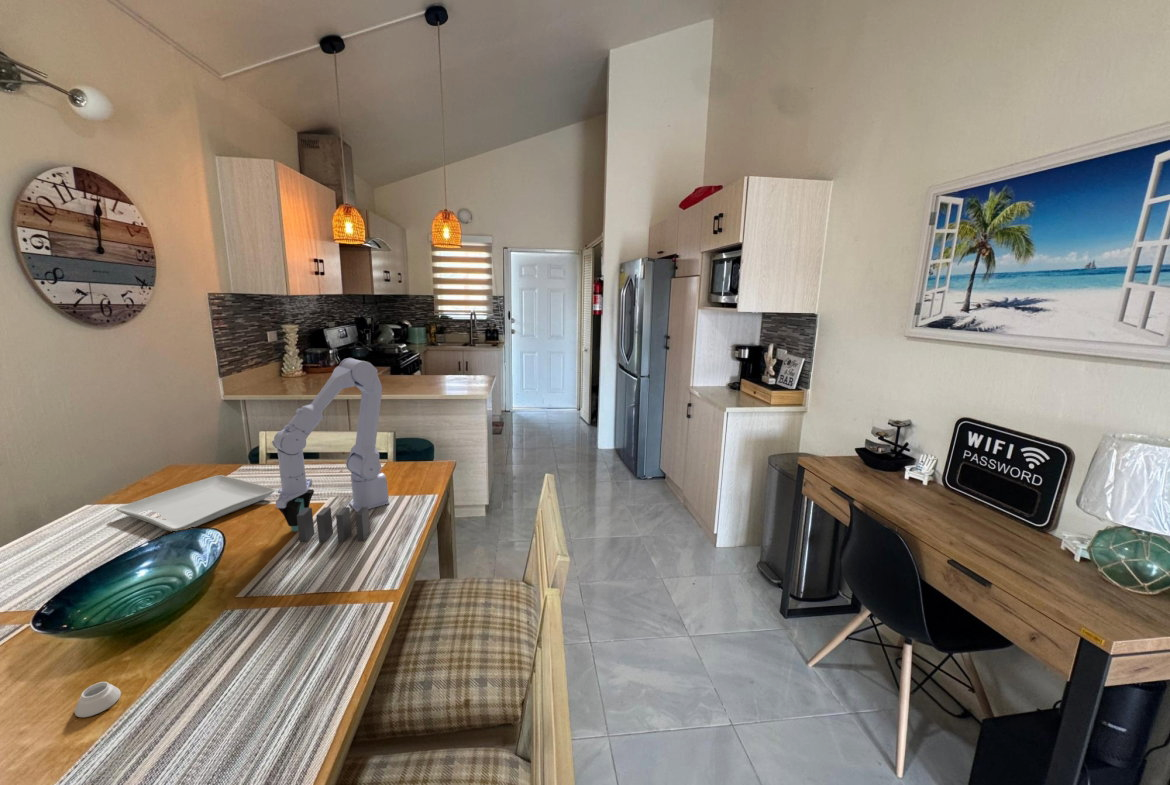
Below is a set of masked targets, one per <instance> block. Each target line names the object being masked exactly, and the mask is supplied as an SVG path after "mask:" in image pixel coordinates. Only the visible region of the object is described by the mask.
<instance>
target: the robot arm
mask: <svg viewBox="0 0 1170 785" xmlns="http://www.w3.org/2000/svg"><path fill="white" fill-rule="evenodd" d="M378 371H379V370H378V369H377V368H376V366H374V365H373V364H372V363H371V362H370V361H365V360H359V359H355V358H353V357H348V358H344V359H343V360H341V361H340V363H339V365H338V366H336V367H335V368H334V369H333V371H332V373H331V375H330V377H329V379H327V381H326V383H325V384H324V386H322V388H321V390H320V391H319V392H318V393H317V395H316V396H315V398H314V399H313V400H312V401H311V403H310V404H306V405H303V406H301V407H300V408H297V409H296V410H295V415H294V416H293V417H292V419H291V420H290V421H289V422H288V423H287V424H285V425H284V426H283V429H282V430H279V431H277V432H276V433H275V435H274V437H273V440H271V444H272V445H273V447H274V448H275V449H277V457H278V459H277V461H278V470H279V476H280V478H279V479H280V484H281V485H280V486H281V488H280V489H278V490H277V494H279V496H278V498H277V500H275V508H276V509H278V510H279V511H280V512H281V514H282V515H283V517H284V519H285V521H286V522H287V525H288V526H289V527H291V526H297V525H298V523H297V515H298V514H299V509H300V505H301V503H302V502H295V500H296V499H297V498H303V499H304V508H310V504H311V501H312V500H311V499H312V497H313V496H314V493H315V490H314V489H312V488H311V489H310V487H312V486H313V480H312V478H307V477H306V476H307V475H306V468H305V466H306V465H305V459H304V452H303V450H304V449H305V448H306V446H307V439H308V437H309V436H310V435H311V433H312V432H313V431H314V430H315V429H316V427H318V425H319V424H320V422H321V421H322V420H323V416H324V415H323V411H324V410H325V409H326V408H327V406H328V405H330V404H331V402H333V400H334V399H335V398H336V397H337V396H338V394H339V393H340V392H341V391H342V390H344V389H349V388H352V387H356V388H357V389H358V390H359V391H360V392H361V396H360V403H359V413H358V420H357V429H356V439H355V444H354V445H353V446H352V447H351V448H350V453H349V454H348V455H349V456H347V458H346V462H345V464H346V468H347V470H348V471H350V479H351V492H352V500H350V501H349V502H348V503H349V505H350V506H351V508H352V509H353V510H354V511H355V513H357V512H358V511H359V510H360V509H361V508H362V507H368V510H371V509H375V508H377V507H382V506H386V505H388V503H389V504H390V500H389V488H388V480H387V476H386V474H385V473H384V472H381V470H382V464H381V461H380V453H379V450H378V448H377V446H376V444H377V436H378V428H379V420H380V413H381V410H380V409H381V402H382V394H383V385H382V383H381V380H380V377H379V375H378ZM385 504H386V505H385Z"/></svg>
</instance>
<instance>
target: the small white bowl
mask: <svg viewBox="0 0 1170 785" xmlns="http://www.w3.org/2000/svg"><path fill="white" fill-rule="evenodd" d="M121 695H122V691H121V690H120V689H119V688H118V687H117V686H115V685H113V684H111V683H109V682H108V681H99V682H96V683H94V684H92V685H89V686H88V687H87V688H86V689H84V690H83V691H82V693H81V695H80V697H79V699H78V701H77V703H76V706H75V708H74V712H73V713H74V714H75V717H78V718H88V717H92V716H95V715H97V714H98V715H99V714H100V713H103V711H105V710H108V709H110V708H111V707H112V706H113V705H115V704H116V702H118V701H119V699H120V698H121Z"/></svg>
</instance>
